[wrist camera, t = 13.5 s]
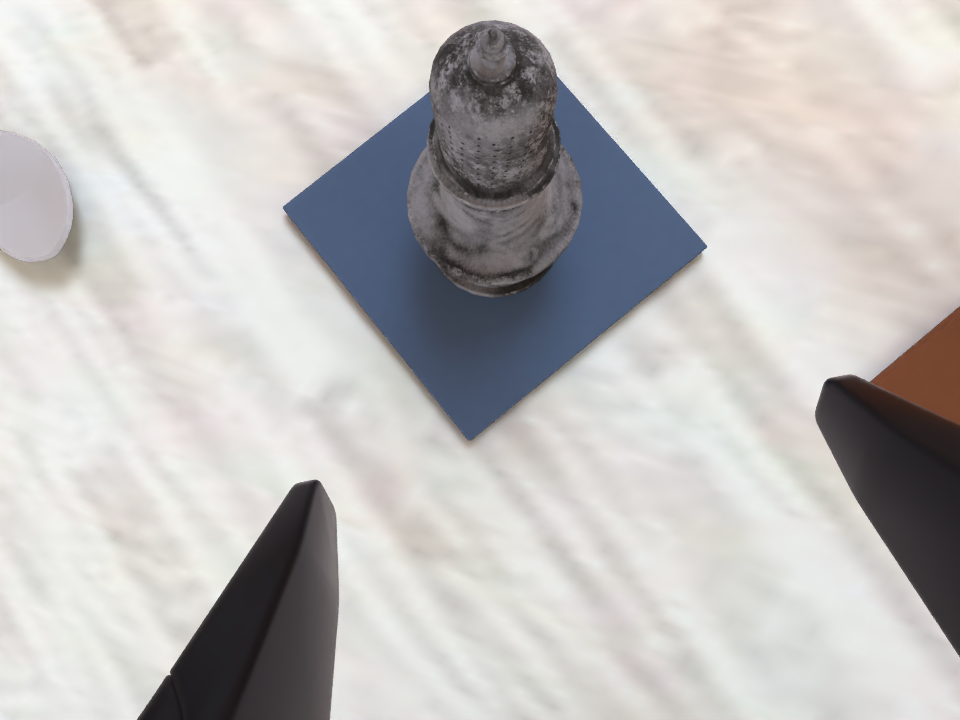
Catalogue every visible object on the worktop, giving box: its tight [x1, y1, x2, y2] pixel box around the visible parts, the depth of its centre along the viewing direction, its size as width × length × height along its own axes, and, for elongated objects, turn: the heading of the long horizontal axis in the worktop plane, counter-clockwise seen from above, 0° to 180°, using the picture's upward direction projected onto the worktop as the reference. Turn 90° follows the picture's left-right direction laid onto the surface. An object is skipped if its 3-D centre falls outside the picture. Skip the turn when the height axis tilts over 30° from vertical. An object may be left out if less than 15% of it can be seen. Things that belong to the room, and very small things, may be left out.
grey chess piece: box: [407, 20, 583, 298], centre depth 17 cm, size 6×6×12 cm
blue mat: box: [283, 77, 707, 441], centre depth 23 cm, size 12×12×1 cm
